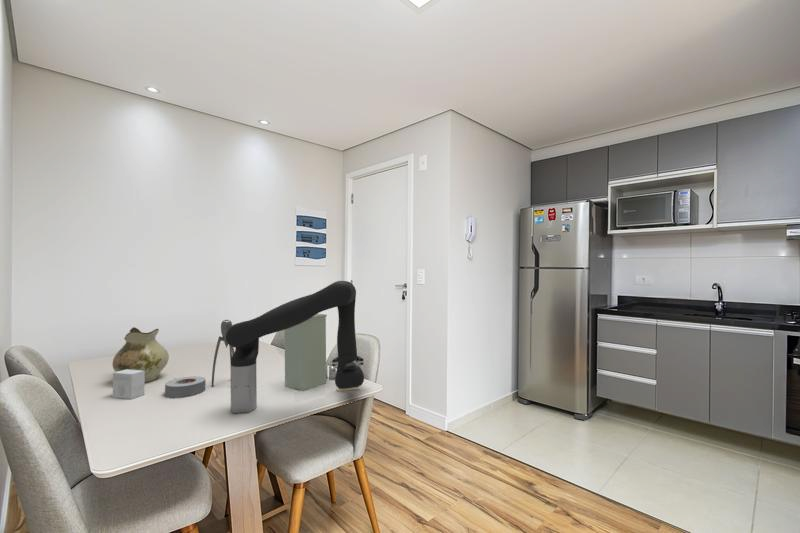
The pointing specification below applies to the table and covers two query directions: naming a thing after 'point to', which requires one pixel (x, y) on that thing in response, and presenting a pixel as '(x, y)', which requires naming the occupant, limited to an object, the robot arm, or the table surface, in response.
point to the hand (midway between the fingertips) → (347, 357)
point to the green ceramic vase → (141, 354)
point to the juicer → (224, 328)
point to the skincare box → (128, 384)
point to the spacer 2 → (332, 372)
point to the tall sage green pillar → (306, 354)
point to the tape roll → (184, 387)
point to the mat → (347, 389)
